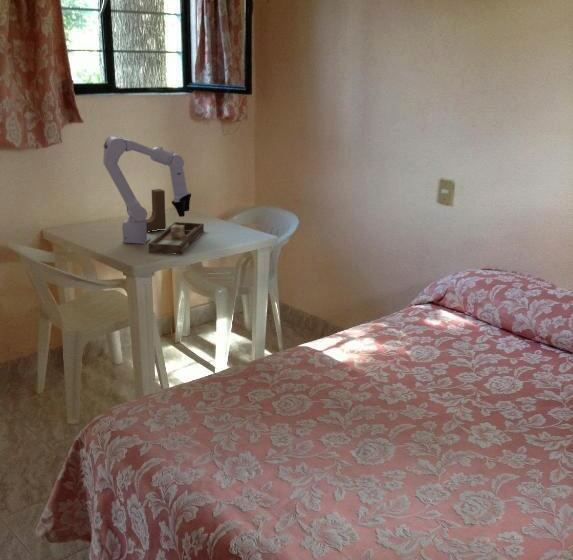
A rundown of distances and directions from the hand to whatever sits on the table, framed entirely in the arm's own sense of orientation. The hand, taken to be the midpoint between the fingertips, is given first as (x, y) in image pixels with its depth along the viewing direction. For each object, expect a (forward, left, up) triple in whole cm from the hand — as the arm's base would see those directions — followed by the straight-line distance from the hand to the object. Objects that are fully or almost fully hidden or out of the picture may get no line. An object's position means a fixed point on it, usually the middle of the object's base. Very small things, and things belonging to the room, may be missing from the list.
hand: (184, 213), depth 282 cm
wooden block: (-16, +8, -11) cm, 21 cm away
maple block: (-1, -7, -8) cm, 11 cm away
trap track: (-1, -7, -10) cm, 13 cm away
